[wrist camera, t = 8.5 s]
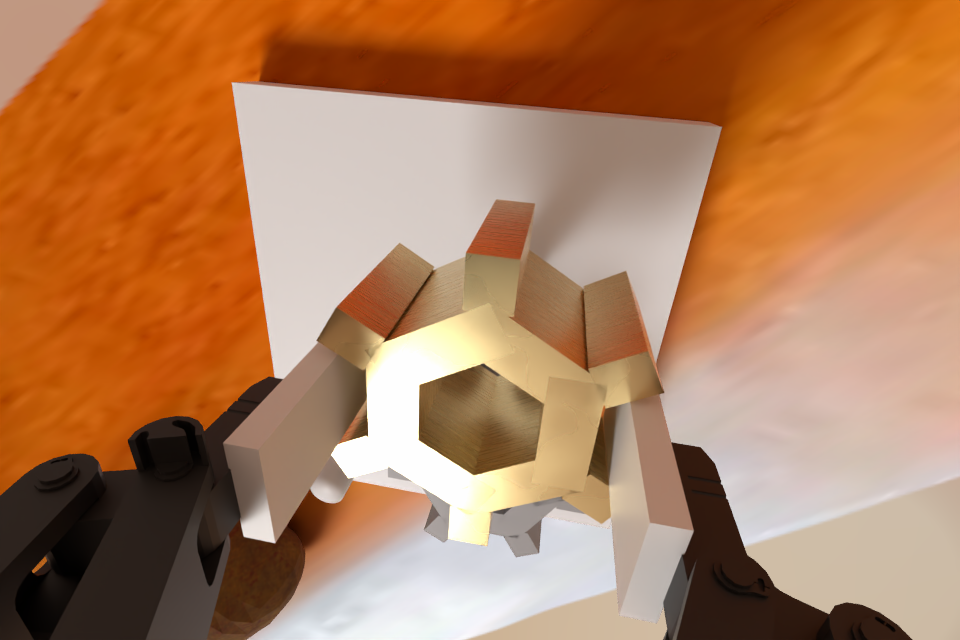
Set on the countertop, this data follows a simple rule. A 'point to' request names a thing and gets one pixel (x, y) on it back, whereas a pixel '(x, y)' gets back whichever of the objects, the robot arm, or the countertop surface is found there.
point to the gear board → (457, 215)
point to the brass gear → (490, 374)
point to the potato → (256, 583)
